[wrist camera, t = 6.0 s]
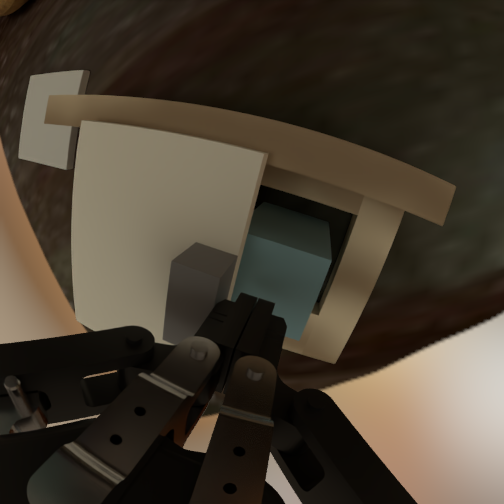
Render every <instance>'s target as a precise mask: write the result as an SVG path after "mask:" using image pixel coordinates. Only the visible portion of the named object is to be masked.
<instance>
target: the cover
mask: <svg viewBox="0 0 504 504" xmlns="http://www.w3.org/2000/svg"><path fill="white" fill-rule="evenodd" d="M268 154H269V153H265V152H261V151H257V150H253V149H249V148H245V147H241V146H237V145H233V144H229V143H224V142H220V141H215V140H211V139H206V138H201V137H197V136H192V135H186V134H181V133H176V132H170V131H165V130H159V129H153V128H147V127H140V126H133V125H126V124H119V123H111V122H102V121H92V120H82V121H81V127H80V133H79V140H78V147H77V155H76V163H75V173H74V185H73V200H72V230H71V247H72V277H73V292H74V304H75V314H76V320H77V321H78V322H80V323H82V324H83V325H85V326H87V327H88V328H90V329H92V330H94V331H100V330H106V329H112V328H118V327H124V326H131V325H134V326H140V327H143V328H146V329H147V330H149V331H150V332H151V333H152V334H153V336H154V338H155V342H156V343H162V344H167V345H178V344H179V343H180V342H181V341H182V340H183V339H185V338H188V337H193V336H194V335H195V334H196V332H197V331H198V329H199V328H200V326H201V325H202V324H203V322H204V321H205V319H206V318H207V317H208V315H209V313H210V312H211V311H212V309H213V308H214V306H215V305H216V303H218V302H220V301H222V300H224V299H227V300H230V301H231V297H232V293H233V289H234V285H235V281H236V277H237V273H238V269H239V265H240V261H241V257H242V253H243V250H244V246H245V242H246V238H247V234H248V230H249V226H250V222H251V219H252V215H253V211H254V207H255V203H256V199H257V196H258V192H259V188H260V184H261V180H262V177H263V173H264V169H265V165H266V161H267V158H268Z"/></svg>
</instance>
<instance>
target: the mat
mask: <svg viewBox="0 0 504 504" xmlns="http://www.w3.org/2000/svg"><path fill="white" fill-rule="evenodd" d="M89 75H90V71H86V70H76V71H65V72H55V73H47V74H40V75H33V76H31V78H30V82H29V87H28V92H27V97H26V102H25V108H24V114H23V121H22V128H21V136H20V146H19V158H20V159H25V160H29V161H33V162H37V163H41V164H45V165H49V166H53V167H57V168H61V169H65V170H68V169H73V165H74V156H75V148H76V141H77V134H78V127H74V126H64V125H54V124H44V121H45V114H46V108H47V103H48V98H49V95H85V91H86V87H87V83H88V79H89Z"/></svg>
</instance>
